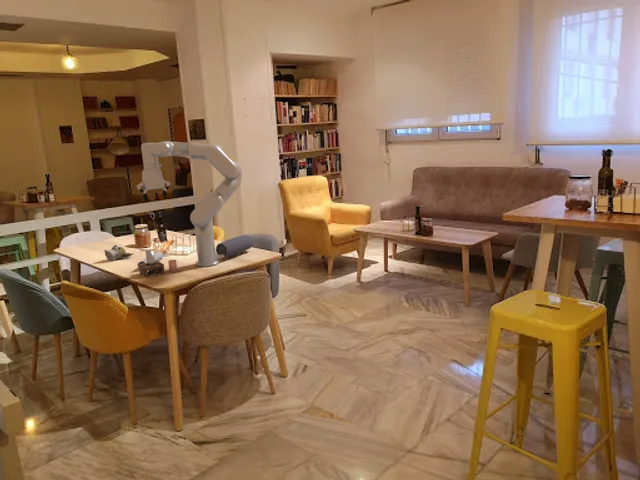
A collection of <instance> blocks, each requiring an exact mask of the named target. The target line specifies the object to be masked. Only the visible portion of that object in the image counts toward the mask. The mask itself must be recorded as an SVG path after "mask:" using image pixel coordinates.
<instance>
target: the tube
mask: <svg viewBox="0 0 640 480" xmlns="http://www.w3.org/2000/svg"><path fill="white" fill-rule="evenodd" d="M154 257H155V261H157V260H158V261H160V260H161V259H163V258H164V253H163V252H162V251H161V250H160V251H155V252H154ZM142 263H147V260H146V258H144V259H142V260H140V261H139V262H138V263H137V268H138V269H139V264H142Z"/></svg>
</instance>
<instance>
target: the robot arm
mask: <svg viewBox="0 0 640 480" xmlns="http://www.w3.org/2000/svg"><path fill="white" fill-rule="evenodd" d="M140 148H141V153H142V157H141V158H142V162H143V163H142V164H143V170H142V173H141V175H142V176H141V177H142V181H141V182H140V183H139V184H137V185H136V188H137V189H138V191H139V192H140V193H142V195H143V196H142V197H143V198H142V199H143V200H144V202H148V201H149V198H148V193H147V192H148V191H149V190H151V191H152V190H158V189H161V190H162V191H161V192H162V199H164V200H167V197H168V195H167V191H168V190H169V188H170V186H171V182H170V181H168V180H165V179H164V176H163V172H162V170H161V167H162V165H163V164H162V163H160V161H159V157H160V158H161V157H162V158H165V157H168V156H169V157H183V158H187V159H189V160H194V161H195V160H196V161H208V162H209V164H211V165H212V167H213V168H215V170H217V171H218V172H219V173H220V175H221V176H222V177H224V179H223V180H222V181H221V182H220V183H219V185H217V187H215V189H214V190H213V191H211V192H210V193H209V194H208V195H206V197H204V199H203V200H202V201H201V202H200V203H199V204H198V205H197V206H196V207H195V208H194V209H193V210H192V212H191V213H190V216H189V219H190V222H191V223H192V225H193V226H194V233H195V235H194V236H195V243H196V244H195V245H196V253H197V261H195V266H196V267H212V266H215V265H216V266H217V264H219V263H220V260H219V259H224V254H221V255H220V254H218V255H217V253H216V246H215V237H214V223H213V221H214V220H213V218H214V217H215V216H217V214H218V213H219V212H220V211H221V210H222V208H223V207H224V205H225V204H226V202H227V201H229V200H230V198H231V197H232V196H233V194H235V193H236V191H238V189H239V187H240V185H241V183H242V179H243V172H242V168H241V166H240V165H239V163H238V162H237V161H235V160H231V159H230V157H228V156H227V155H226V154H225V152H224V149H223V147H222V146H221V145H219V144H215V143H213V144H212V143H203V142H202V143H199V142H183V141H182V142H181V141H172V140H171V141H168V140H166V141H159V142H143V143H142V144H141V147H140ZM165 184H166V186H165ZM142 188H143V189H142Z"/></svg>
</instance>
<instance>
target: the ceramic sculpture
mask: <svg viewBox="0 0 640 480" xmlns="http://www.w3.org/2000/svg"><path fill="white" fill-rule="evenodd" d="M103 252H104V255H105V257H106V259H107V260H108V262H113V261H114V260H121V259H123V258H125V259H126V258H130V257H132V256H133V255H134V253H130V252H127V251H126V249H125V247H123V246H118V245H117V244H116V245H113V246H112V247H111V249H104V251H103Z"/></svg>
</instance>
